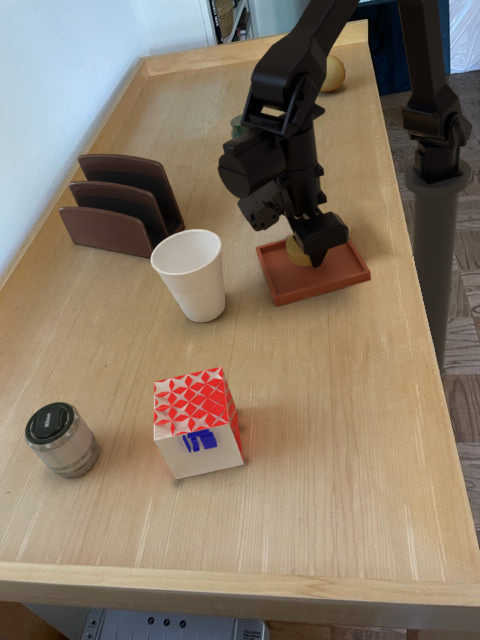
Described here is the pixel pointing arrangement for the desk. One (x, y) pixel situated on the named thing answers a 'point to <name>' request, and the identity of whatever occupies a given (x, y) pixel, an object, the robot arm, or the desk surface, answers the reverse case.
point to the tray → (310, 272)
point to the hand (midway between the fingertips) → (309, 255)
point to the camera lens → (62, 439)
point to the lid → (297, 253)
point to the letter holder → (122, 205)
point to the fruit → (333, 74)
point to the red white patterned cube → (197, 423)
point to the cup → (193, 272)
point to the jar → (237, 127)
